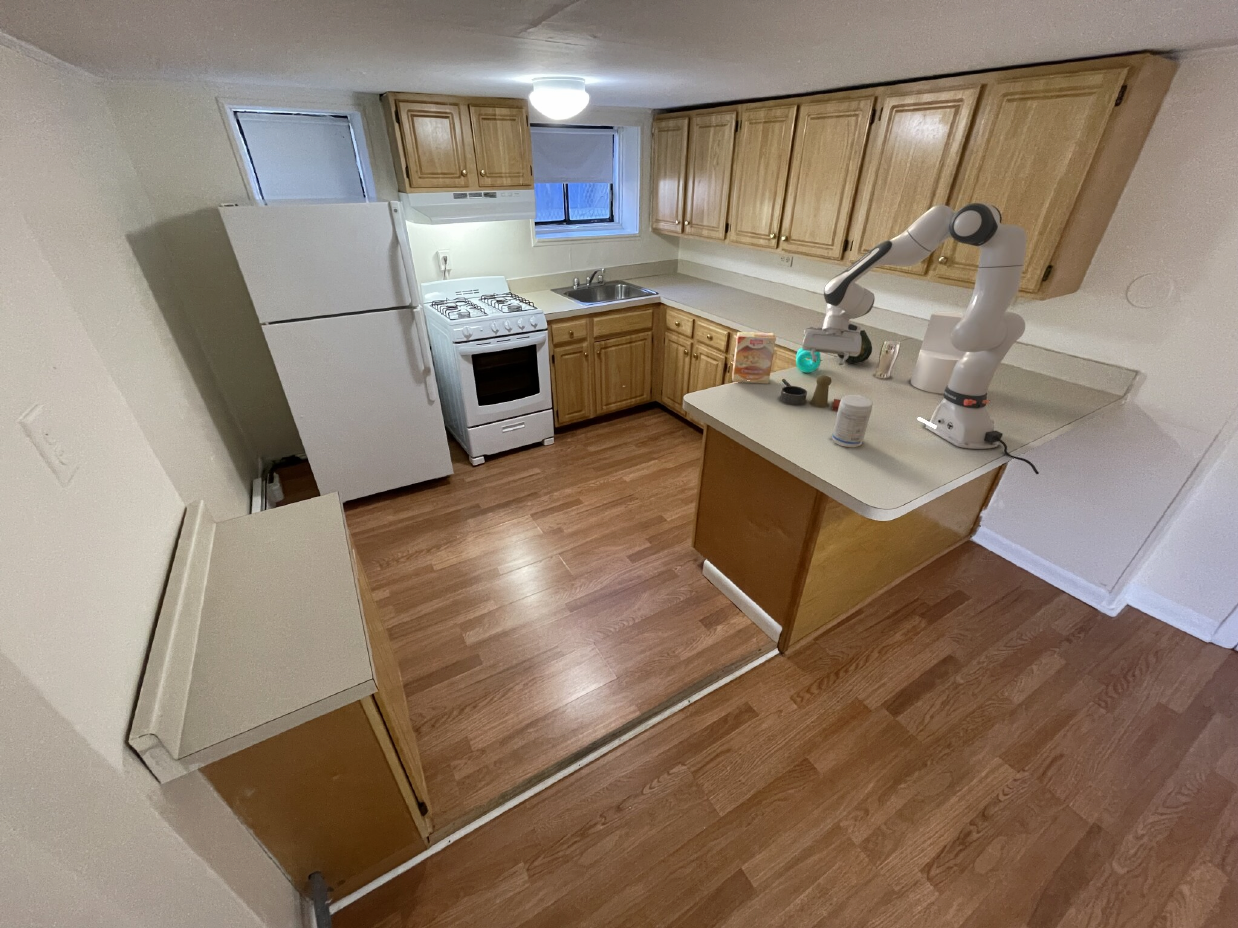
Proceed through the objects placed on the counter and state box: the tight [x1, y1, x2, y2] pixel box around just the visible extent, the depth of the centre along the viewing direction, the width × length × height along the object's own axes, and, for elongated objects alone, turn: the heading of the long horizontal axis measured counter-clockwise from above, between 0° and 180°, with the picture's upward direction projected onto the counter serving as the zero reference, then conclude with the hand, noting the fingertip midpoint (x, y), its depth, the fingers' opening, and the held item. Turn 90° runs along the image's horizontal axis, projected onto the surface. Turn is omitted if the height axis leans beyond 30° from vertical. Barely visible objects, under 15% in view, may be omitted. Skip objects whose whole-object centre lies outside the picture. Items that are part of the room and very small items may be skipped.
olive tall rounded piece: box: [810, 374, 832, 408], centre depth 191 cm, size 6×6×11 cm
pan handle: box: [781, 378, 792, 387], centre depth 202 cm, size 8×1×1 cm, turn 3°
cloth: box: [831, 398, 841, 412], centre depth 190 cm, size 8×7×1 cm
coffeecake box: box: [731, 331, 777, 384], centre depth 210 cm, size 15×7×20 cm, turn 82°
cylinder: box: [910, 311, 966, 395], centre depth 202 cm, size 17×17×28 cm
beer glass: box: [874, 339, 902, 380], centre depth 214 cm, size 7×7×15 cm
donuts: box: [795, 346, 821, 374], centre depth 223 cm, size 10×10×10 cm
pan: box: [779, 385, 808, 406], centre depth 196 cm, size 9×9×4 cm
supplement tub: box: [831, 394, 874, 448], centre depth 164 cm, size 10×10×15 cm
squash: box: [836, 329, 873, 365], centre depth 232 cm, size 14×15×15 cm
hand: (827, 362), depth 186 cm, fingers open, 8 cm apart
